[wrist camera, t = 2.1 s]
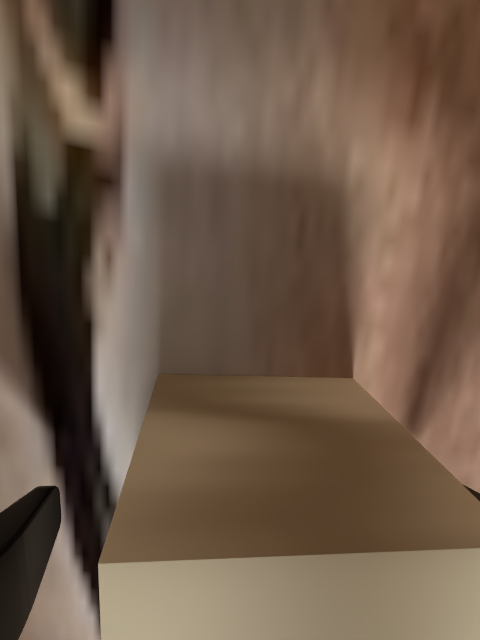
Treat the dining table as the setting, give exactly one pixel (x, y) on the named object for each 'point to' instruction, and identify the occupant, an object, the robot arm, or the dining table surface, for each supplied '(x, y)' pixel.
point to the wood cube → (286, 520)
